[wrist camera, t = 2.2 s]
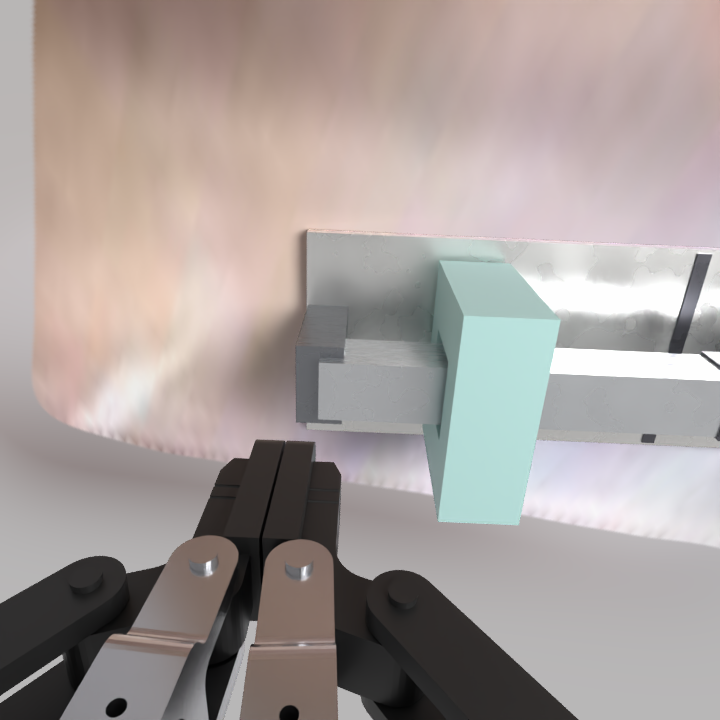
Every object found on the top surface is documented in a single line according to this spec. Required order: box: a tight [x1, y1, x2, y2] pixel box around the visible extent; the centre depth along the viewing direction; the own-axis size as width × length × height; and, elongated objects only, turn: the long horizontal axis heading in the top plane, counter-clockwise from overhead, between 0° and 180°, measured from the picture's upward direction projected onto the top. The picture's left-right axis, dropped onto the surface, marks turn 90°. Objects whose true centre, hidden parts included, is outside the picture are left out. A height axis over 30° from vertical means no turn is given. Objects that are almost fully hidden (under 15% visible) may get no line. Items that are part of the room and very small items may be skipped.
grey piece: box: [296, 229, 720, 448], centre depth 31 cm, size 13×29×8 cm, turn 88°
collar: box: [422, 260, 561, 525], centre depth 29 cm, size 11×4×9 cm, turn 178°
